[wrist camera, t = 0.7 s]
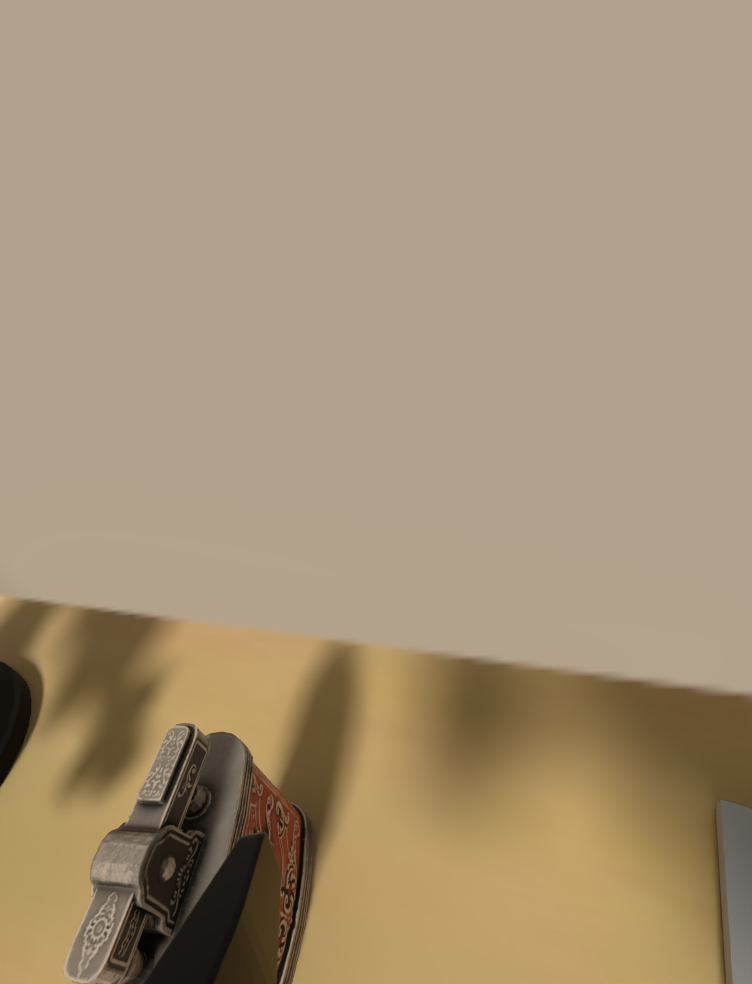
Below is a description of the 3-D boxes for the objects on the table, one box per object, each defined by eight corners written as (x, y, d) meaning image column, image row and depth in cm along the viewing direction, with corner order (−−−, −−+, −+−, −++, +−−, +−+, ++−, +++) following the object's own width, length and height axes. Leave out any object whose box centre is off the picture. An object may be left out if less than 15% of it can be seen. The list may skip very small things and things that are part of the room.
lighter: (275, 1089, 16) (96, 1075, 10) (185, 1069, 17) (-30, 1046, 11) (326, 809, 22) (234, 696, 16) (258, 805, 23) (147, 696, 17)
